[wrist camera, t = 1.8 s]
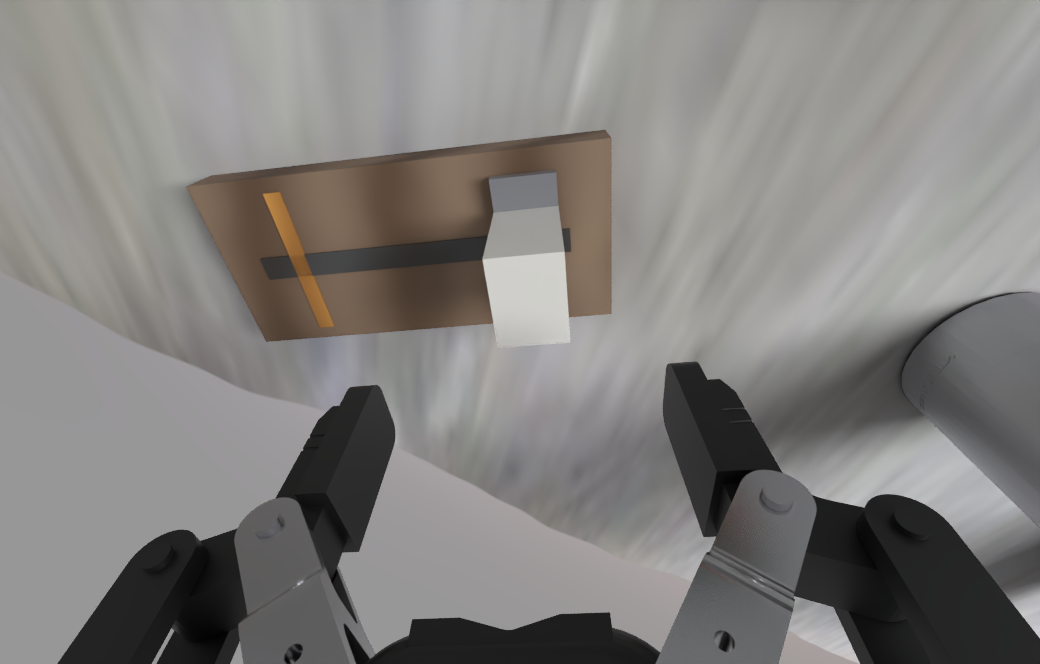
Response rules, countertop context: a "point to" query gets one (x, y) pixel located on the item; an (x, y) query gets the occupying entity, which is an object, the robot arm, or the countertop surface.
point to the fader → (526, 261)
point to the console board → (399, 235)
